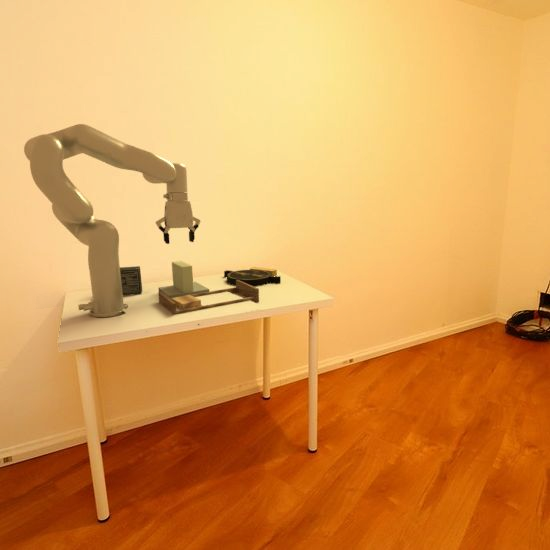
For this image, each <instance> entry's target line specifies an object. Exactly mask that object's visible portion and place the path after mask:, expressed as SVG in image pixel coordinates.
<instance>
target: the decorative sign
mask: <svg viewBox="0 0 550 550" xmlns="http://www.w3.org/2000/svg"><path fill="white" fill-rule="evenodd" d="M277 273H278V271H277V269H276V268H268V267H258V266H253V267H250V268H249V269H239V270H224V271H223V277H227V278H226V283H227V282H228V283H227V284H229V283H230V284H229V285H231V284H233V285H232V286H236V280H240V281H242V282H245V283H247V284H249V285H251V286H254V287H258V285H260V286H264V284H265V285H268V284H276V283H277V284H281V282H282V281H281V276H280V275H277ZM276 275H277V276H276ZM274 276H275V277H274ZM267 283H268V284H267Z"/></svg>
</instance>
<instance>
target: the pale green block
mask: <svg viewBox="0 0 550 550" xmlns="http://www.w3.org/2000/svg"><path fill="white" fill-rule="evenodd" d="M171 271H172V273H171V274H172V285H173V286H174V287H176V288H177V289H179V290H180V291H182V292H183V293H184V292H191V291H194V290H193V282H194V279H193V278H194V277H193V275H194V273H193V265H191V264H189V263H186V262H185V261H182V260H179V261H171Z"/></svg>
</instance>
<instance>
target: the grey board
mask: <svg viewBox="0 0 550 550" xmlns="http://www.w3.org/2000/svg"><path fill="white" fill-rule="evenodd" d="M157 288H158V292H162V293H163V294H165V295H166V296H167V297H169V298H175V297H180V296H185V295H193V294H199V293H205V292H210V288H208V287H206V286H204V285H203V284H201V283H199V282H197V281H193V290H194V291H191V292H184V293H183V292H182V291H180V290H179V289H177V288H176V287H174V286H173V284H171V285H167V286H159V287H157Z"/></svg>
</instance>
